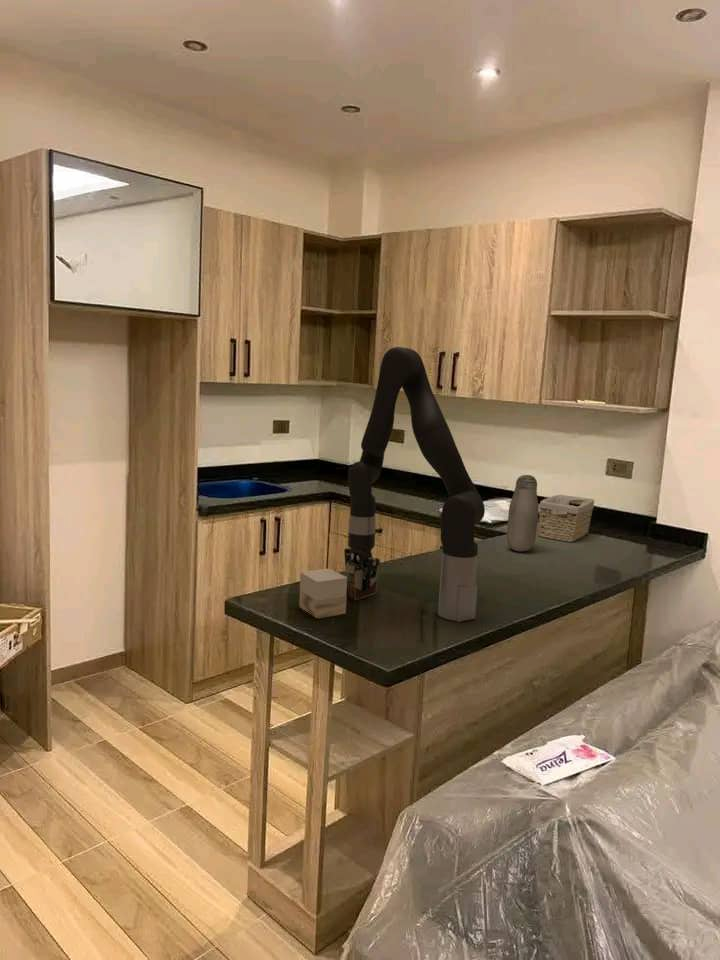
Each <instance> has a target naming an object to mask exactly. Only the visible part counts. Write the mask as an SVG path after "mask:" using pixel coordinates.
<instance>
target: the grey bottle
mask: <svg viewBox="0 0 720 960" xmlns="http://www.w3.org/2000/svg"><path fill="white" fill-rule="evenodd" d="M537 481H538V480H537V479H536V477H535V476H534V475H530V474H522V475H520V476H519V477H517V479H516V481H515V488H514V491H513V495H512V497H511V500H510V503H509V508H508V515H507V516H508V517H507V518H508V519H507V528H506V529H507V530H506V531H507V533H506V539H507V545H508V546H509V548H510V549H511V550H513V551H516V552H519V553H520V552H521V553H522V552H527V551H529V550H531V549H532V548H533V546H534V545H535V542H536V537H537V527H538V523H539V514H540V512H539V509H540V507H539V506H540V505H539V501H538V482H537Z"/></svg>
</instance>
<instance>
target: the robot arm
mask: <svg viewBox="0 0 720 960" xmlns="http://www.w3.org/2000/svg"><path fill="white" fill-rule="evenodd" d="M380 363H381V364H380V367H379V372H378V373H379V375H378V381H377V386H376V390H375V395H374V401H373V403H372V404H373V405H372V408H371V412H370V415H369V419H368V422H367V425H366V428H365V430H364V433H363V437H362V439H361V443H360V447H361V450H362V452H361V456H360V459H359V461H356V462H354V463H353V464H351V466H350V468H349V470H348V474H347V483H348V492H349V497H350V506H349V507H350V508H349V509H350V511H349V520H348V533H347V534H348V537H347V538H348V539H347V542H348V543H347V545H348V546H347V547H349V548H345V549H344V552H343V553H344V564H345V565H344V567H345V568H346V564H347V563H348V560H350V559H351V563H356V564H358V565H359V566H360V567H361V571H362V577H363V579H362V591H363V592H368V591H369V590H370V580H371V578H375V577H376V572H377V566H378V559H379V558H378V557H373V554H372V549H374V547H375V546H376V498H375V496H374V495H373V493H372V492H373V491H372V484H374V483H376V481H377V480H378V479H379V478H380V475H381V473H382V471H383V469H382V468H383V465H384V458H385V452H386V449H387V447H388V445H389V442H390V439H391V436H392V432H393V429H394V423H395V411H396V404H397V401H398V400H397V399H398V396H399V394H400V390H401V389H403V392H404V394H405V396H406V399H407V401H408V404H409V405H408V406H409V410H410V411H409V412H410V418H411V419H410V420H411V427H412V433H413V435H414V438H415V440H416V441H415V442H416V443H417V445H418V448H419V449H420V453H422V456H423V457H424V459H425V461H426V462H427V463H428V464H429V465H430V466H431V468H432V469H433V470H434V472H436V474H437V475H438V476H439V477H440V479H441V481H442V482H443V484H444V486H445V488H446V491H447V493H448V498H447V499H446V500H445V501H444V503H443V505H442V509H441V516H440V518H441V519H440V543H441V545H442V554H441V566H440V567H441V568H440V578H439V579H440V582H439V594H438V607H437V614H438V616H439V617H441V618H443V619H446V620H449V621H454V622H456V623H461V622H465V621H469V620H470V621H471V620H475V619H476V611H477V598H478V587H479V585H478V584H477V583H476V575H477V565H478V563H477V562H478V553H479V549H478V548H479V545H478V543H477V542H476V541H475V528H476V527H475V526H476V525H477V524H479V523H481V521H483V519H484V516H485V503H484V501H483V499H482V497H481V494H480V493H479V491H478V490H477V488H476V485H474V482H473V481H472V478H471V477H470V475H469V473H468V471H467V469H466V467H465V463H464V461H463V459H462V456H461V454H460V452H459V450H458V447H457V444H456V442H455V439H454V437H453V435H452V432H451V430H450V428H449V425H448V423H447V421H446V419H445V416H444V413H443V412H442V410H441V408H440V406H439V403H438V401H437V399H436V397H435V394H434V392H433V390H432V387H431V383H430V381H429V378H428V374H427V371H426V368H425V364H424V361H423V359H422V357H421V355H420V354H419V353H418V352H417V351H416V350H414V349H413V348H407V347H403V346H394V347H391V348H388V350H386V352H385V353H384V354H383V357H382V358H381V362H380ZM367 565H368V568H363V566H367ZM345 568H344V569H345ZM365 571H367V575H366V573H365ZM371 571H373V572H372V574H371Z"/></svg>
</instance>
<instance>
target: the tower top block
mask: <svg viewBox="0 0 720 960" xmlns="http://www.w3.org/2000/svg"><path fill="white" fill-rule="evenodd" d="M299 576H300V577H299V581H300V582H299V592H300V591H302V592H303V593H305V594H307V595H308V596H310V597H311V598H313V599H315V600H316V601H317V600H324V599H330V598H336V597H343V596H347V591H348V590H347V589H348V576H347V577H346V576H345V575H343V574H341V573H340V572H337V571H336V570H333V569H332V568H324V569H316V570H308V571H300V575H299Z"/></svg>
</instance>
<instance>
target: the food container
mask: <svg viewBox="0 0 720 960" xmlns="http://www.w3.org/2000/svg"><path fill="white" fill-rule="evenodd" d="M381 565H382V564H381V560H380V559H379V558H378V566H377V572H376V577H375V578H371V580H370V590H369V591H368V592H363V591H362V579H363V577H362V571H361V567H360V566H359V565H358V564H356V563H351V559H350V560H348V563H347V564H346V568H344V570H345V571H346V572H347V589H348V590H347V591H348V592H347V593H348V598H349V599H351V600H352V601H358V600H360V599H361V600H362V599H363V598H366V597H369V596H372V595H376V594H377V587H378V581H379V580H378V579H379V573H380V571H379V570H380V567H381ZM363 568H368V565H367V566H363ZM372 572H373V571H371V574H372ZM365 573H366V575H367V571H365Z"/></svg>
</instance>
